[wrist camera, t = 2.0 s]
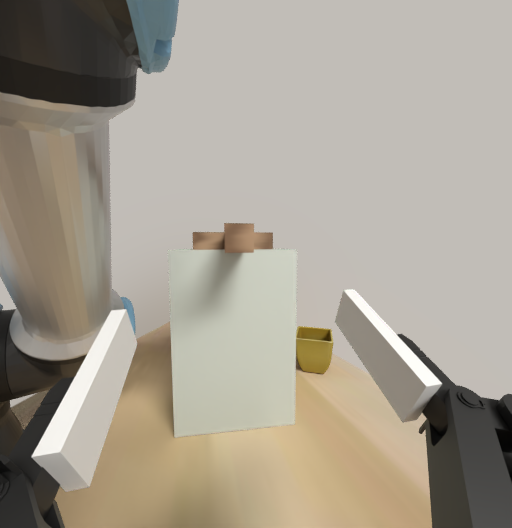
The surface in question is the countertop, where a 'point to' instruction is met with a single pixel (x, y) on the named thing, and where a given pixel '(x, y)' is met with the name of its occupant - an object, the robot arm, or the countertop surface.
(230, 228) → the T-bar
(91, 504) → the countertop surface
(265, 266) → the stand
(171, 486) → the countertop surface
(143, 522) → the countertop surface
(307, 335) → the flower pot
